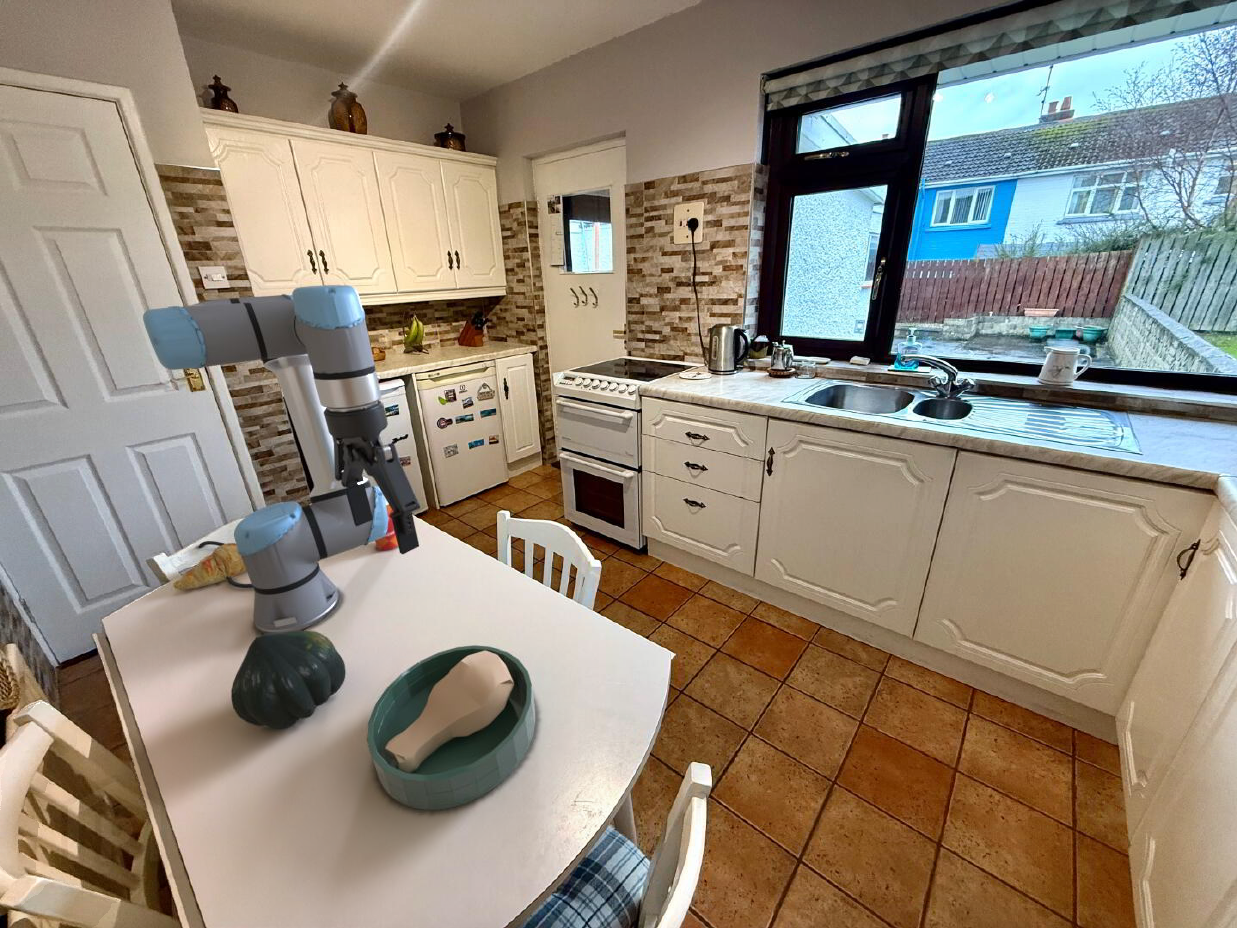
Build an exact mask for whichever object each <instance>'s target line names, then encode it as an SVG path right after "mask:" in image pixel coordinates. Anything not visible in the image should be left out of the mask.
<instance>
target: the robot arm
mask: <svg viewBox="0 0 1237 928" xmlns="http://www.w3.org/2000/svg"><path fill="white" fill-rule="evenodd" d="M142 320H143V324H144V327H145V330H146V333H147V336H148V338H149V341H150V343H151V346H152V349H153V350H154V353H155V356H156V357H157V360H158V362H159V364H160V365H161V366H162V367H164V368H165V369H167V370H172V371H175V370H188V369H189V370H190V369H191V370H198V369H203V368H209V367H216V366H224V365H231V364H238V363H246V362H252V361H259V360H260V361H262V364H263V367H264V368H265V369H266V370H269V371H270V372H272V373H274V374H275V375H276V377H277V380H278V384H279V386H280V389H281V392H282V395H283V398H284V401H285V404H286V407H287V409H288V412H289V415H290V418H291V421H292V424H293V427H294V430H295V432H296V436H297V438H298V442H299V444H300V448H301V450H302V453H303V457H304V459H305V462H306V465H307V467H308V470H309V473H310V477H311V479H312V482H313V488H312V490H311V491H310V493H309V495H308V496H309V500H310V504H308V505H305V506H301V504H299V503H298V502H296V501H293V500H292V501H291V500H290V501H285V502H284V501H280V502H276V503H272V504H269V505H266V506H264V507H261V508H259V509H257V510H255V511H253V512H251V513H250V514H248V515H247V516H245V517H244V518H243V519H241V520H240V522H238V524H237V525H236V527H235V529H234V531H233V538H234V542H235V543H236V545H237V552H238V554H239V555H241V557H242V560H243V562H244V565H245V568H246V574H247V576H248V578H249V581H250V583H239V582H237V581H234V580H233V577H232V578H231V577H226V579H227V580H226V581H227V583H228V584H229V585H230V586H232V587H235V588H240V589H253V591H254V600H253V614H252V615H253V622H254V624H255V628H256V629H257V631H258V632H259V633H261V634H263V635H264V634H270V633H280V632H290V631H304V630H305V629H308V628H310V627H312V626H314V625H316V624H318V623H320V622H321V621H323V620H324V619H325V618H327V617H328V616H329V615H330V614H332V612H334V610H335V609H336V608H337V607H338V605H339V603H340V593H339V590H338V588H337V586H336V585H335V584H334V582H333V581H332V580H331V579H330V578H329V577H328V576H327V574H326V573H325V572H324V571H323V570H322V569H321V567H320V564H319V563H320V562H319V561H322V560H325V559H328V558H331V557H333V556H337V555H339V554H342V553H345V552H348V551H350V550H351V551H352V550H353V549H356V548H359V547H363V546H367V545H370V544H371V543H374V542H375V541H376V540H378V539H381V538H382V537H384V536H385V534H386V532H387V529H388V515H387V508H386V504H385V500H384V497H385V498H386V500H387V502H388V504H389V505H390V507H391V509H392V510H393V512H392V513H391V514H390V517H391V518H392V522H393V526H394V530H395V535H396V539H397V543H398V546H397V547H398V550H399V554H401V555H405V554H407V553H408V552H411V551H414V550H415V549H417V548H419V547H420V542H419V538H418V533H417V528H416V525H415V520H414V515H413V513H414V512H416V511H418V510H420V509H421V505H420V503H419V500H418V497H417V496H416V493H415V491H414V489H413V487H412V485H411V483H410V480H409V479H408V478H409V477H408V476H407V474H406V472H405V469H404V467H403V465H402V463H401V460H400V457H399V454H398V451H397V447H396V445H395V444H394V442H391V443H387V444H384V443H383V441H382V438H381V436H380V434H381V433H382V431H384V430H386V428H387V427H388V426H389V425H388V424H389V422H388V417H387V413H386V407H385V405H384V402H382V401H381V398H382V393H381V387H380V383H379V381H380V380H381V377H380V375H378V374H377V370H376V365H375V361H374V355H373V350H372V347H371V341H370V338H369V332H368V328H367V323H366V312H365V310H364V308H363V306H362V302H361V299H360V295H359V292H358V290H357V289H356V288H355V287H353V286H352V285H349V284H348V285H347V284H343V285H342V284H341V285H340V284H327V285H309V286H300V287H296V288H294V289H293V290H292V293H291V294H286V293H282V294H278V295H277V294H275V295H262V296H247V297H244V296H243V297H231V298H230V297H226V298H216V299H211V300H205V301H202V302H198V303H194V304H189V305H185V306H179V305H171V306H167V307H161V308H152V309H148V310H146V311H144V313H143V315H142ZM364 471H365V473H366V475H367V476H369V477H372V478H373V480H374V482H375V483H376V485H371V482H370V479H369V478H367V477H364V476H363V473H364ZM382 493H383V494H382ZM383 495H384V497H383ZM224 544H226V543H224V542H220V541H216V540H206V541H202V542H200V543H199V544H198V549H202V548H204V547H205V546H209V545H210V546H211V545H212V546H216V547H217V546H218V547H219V546H222V545H224Z"/></svg>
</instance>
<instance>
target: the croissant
mask: <svg viewBox="0 0 1237 928" xmlns="http://www.w3.org/2000/svg"><path fill="white" fill-rule="evenodd" d="M245 572H247V570H246V568H245V565H244V562H243V560H242V557H241V555H239V554H238V552H237V545H236V542H228V543H227V542H226V543H225V544H224V545H222V546H218V547H217V548H215V549H214V550H213V551H212V554H209V555H206V557H204V558H202V559H201V560H200V561H199V562H198V564H197V565H195V566H194V567H193V568H191V569H189V570H187V571H186V572H185V573H183V575H182V576H181V578H180V579H178V580H176V581H175V582H173V583H172V588H173V589H174V590H175V591H176V590H177V591H183V590H185V591H186V590H191V589H192V590H193V589H198V588H203V587H205V586H209V585H214V584H217V583H220V582H224V581H227V579H226V577H231V578H232V579H233V578H234V577H236V576H238V575H241V574H242V573H245Z"/></svg>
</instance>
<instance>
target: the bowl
mask: <svg viewBox="0 0 1237 928" xmlns="http://www.w3.org/2000/svg"><path fill="white" fill-rule="evenodd" d="M482 651H488V652H491V653H494V654H496V655H498V656H499V658H500V659H501V660H502V661H503V662H504V663H505V665H506V666H507V669H508V671H509V673H510V675H511V678H512V680H513V682H514V687H513V689H512V692H511V694H510V696H509V699H508V701H507V703H506V705H505V708H504V709H503V710H502V711H501V712H500V713H499V715H498V716H497V717H496V718H495V719H494V720H493V721H492V722H491V723H490V724H489V725H488V726H487V727H486V728H484V729H483V730H481V731H477V732H474V733H472V734H470V735H468V736H462V737H455V738H453V739H451V740H450V741H448V742H446V743H445V744H443V745H441V746H440V747H439V748H437V749H436V750H435V751H434V752H433V753H432V754H430V755H429V756H428V757H427V758H426V759H425V760H423V761H422V763H421V764H420V765H419V767H418V768H417V769H416V770H414V771H413V772H411V773H410V774H409V773H404V772H402V771H400V770H399V769H398V767H397V765H396V762H395V761H394V760H393V759H392V758H390V757H389V756H387V755H386V750H385V748H386V746H387V744H388V742H389V741H390V740H391V739H393V738H394V737H395V736H397V735H399V734H400V733H402V732H404V731H405V730H406V729H407V728H408V727H409V726H410V725H412V724H413V723H414V722H415V721H416V720H417V719H418V718H419V717H420V716H421V714H422V712H423V710H424V709H425V707H426V705H427V702H428V698H429V695H430V693H431V691H432V690H433V688H434V686H435V685H436V684H437V683H438V682H439V681H440V680H442V679H443V678H444V677H445V676H446V675H448V674H449V672H450V670H451V669H452V668H454V667H455V666H456V665H457V664H458V663H459V662H460V661H461V660H463V659H464V658H465V657H467V656H468V655H472V654H475V653H478V652H482ZM535 704H536V703H535V698H534V690H533V684H532V681H531V677H530V674H529V671H528V670H527V668H526V667H525V666H524V664H523V663H522V662H521V660H520V659H518V658H517V657H516V656H514V655H513V654H511V653H510V652H508V651H506V650H503V649H500V648H496V647H494V646H490V645H489V646H487V645H477V644H476V645H475V644H473V645H465V646H457V647H453V648H449V649H446V650H443V651H440V652H437V653H434V654H432V655H430V656H428V657H426V658H423V659H421V660H419V661H418V662H416V663H415V664H413V665H412V666H410V667H409V668H407V669H406V670H404V671H403V672H402V673H401V674H400V675H399V676H398V677H396V678H395V679H394V680H393V681H392V682H391V683H390V684H389V685H388V686H387V687H386V688H385V689H384V691H383V692H382V694H381V696H380V697H379V698H378V700H377V701H376V703H375V704H374V706H373V709H372V711H371V714H370V717H369V719H368V722H367V731H366V733H367V734H366V743H367V746H368V749H369V752H370V756H371V758H372V759H371V760H372V762H373V765H374V767H375V771H376V773H377V776H378V777H377V778H378V780H379V782H380V785H381V786H382V787H383V789H384V790H385V792H386V793H387V794H388V795H389V796H390V797H391V798H392V799H394V800H395V801H397V802H399V804H402V805H404V806H407V807H410V808H413V809H417V810H424V811H425V810H427V811H437V810H438V811H439V810H446V809H450V808H451V809H452V808H455V807H459V806H462V805H465V804H468V803H470V802H473V801H474V800H477V799H479V798H481V797H483V796H484V795H486V794H487V793H489V792H490V791H492V790H493V789H494V788H496V787H497V786H499V785H501V783H502V782H503V781H505V780H506V779H507V778H508V777H509V776H510V775H511V774H512V773H513V772H514V770H515V769H516V768H517V767H518V765H519V764H520V762H521V761H522V760H523V758H524V757H525V755H526V753H527V751H528V750H529V747H530V745H531V742H532V740H533V736H534V732H535V727H536V705H535Z"/></svg>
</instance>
